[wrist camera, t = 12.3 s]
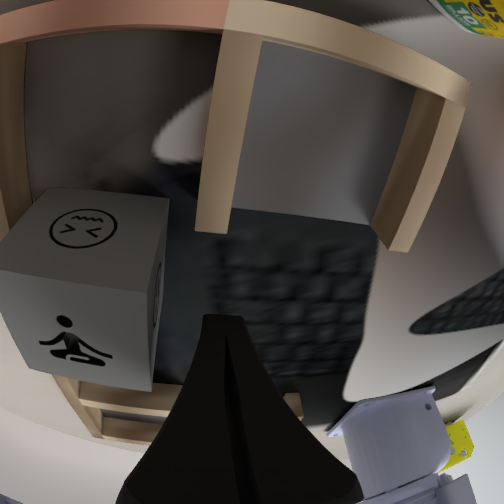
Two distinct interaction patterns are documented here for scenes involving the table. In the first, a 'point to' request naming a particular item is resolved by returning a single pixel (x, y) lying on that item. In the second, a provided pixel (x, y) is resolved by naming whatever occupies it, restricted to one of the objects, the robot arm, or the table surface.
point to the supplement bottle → (474, 15)
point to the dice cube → (87, 285)
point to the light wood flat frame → (262, 137)
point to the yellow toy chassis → (458, 443)
